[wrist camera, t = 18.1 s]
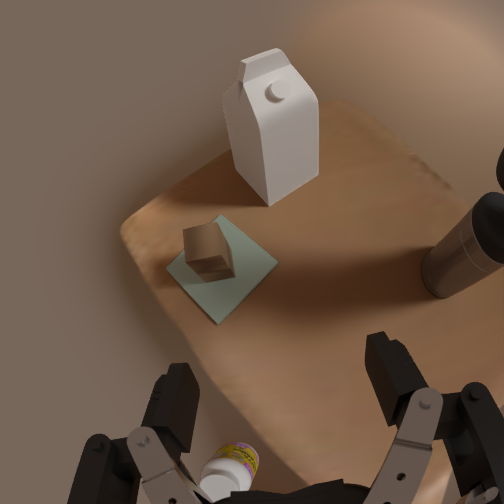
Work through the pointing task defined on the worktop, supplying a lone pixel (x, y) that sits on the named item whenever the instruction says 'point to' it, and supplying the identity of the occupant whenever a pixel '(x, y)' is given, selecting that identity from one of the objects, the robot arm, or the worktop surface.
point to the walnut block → (208, 252)
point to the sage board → (228, 290)
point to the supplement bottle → (229, 470)
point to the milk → (272, 126)
